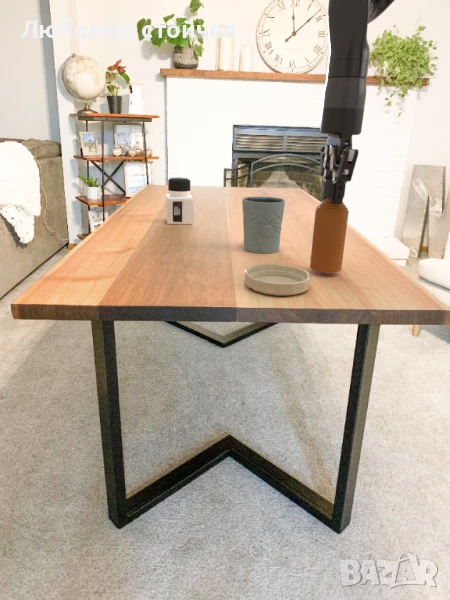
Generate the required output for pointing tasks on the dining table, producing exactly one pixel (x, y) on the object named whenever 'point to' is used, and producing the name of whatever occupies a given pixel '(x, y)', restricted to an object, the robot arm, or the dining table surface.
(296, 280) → the dish
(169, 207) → the container
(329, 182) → the cap
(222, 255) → the dining table surface
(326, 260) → the bottle
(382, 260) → the dining table surface
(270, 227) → the grey blue embossed cup
